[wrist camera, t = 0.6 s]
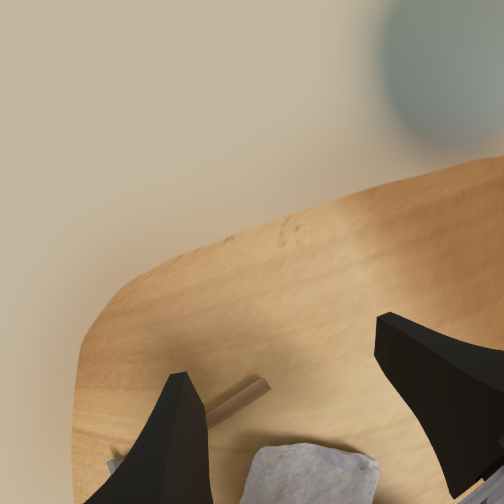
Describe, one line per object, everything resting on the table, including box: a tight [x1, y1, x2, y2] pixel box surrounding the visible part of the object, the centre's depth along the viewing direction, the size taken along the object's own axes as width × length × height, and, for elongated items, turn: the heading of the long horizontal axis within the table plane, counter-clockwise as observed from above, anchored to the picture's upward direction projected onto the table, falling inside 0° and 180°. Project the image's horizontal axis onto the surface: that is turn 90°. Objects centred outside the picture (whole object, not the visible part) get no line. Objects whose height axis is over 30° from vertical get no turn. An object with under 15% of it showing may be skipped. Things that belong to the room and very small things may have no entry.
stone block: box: [239, 443, 381, 504], centre depth 16 cm, size 12×5×10 cm
